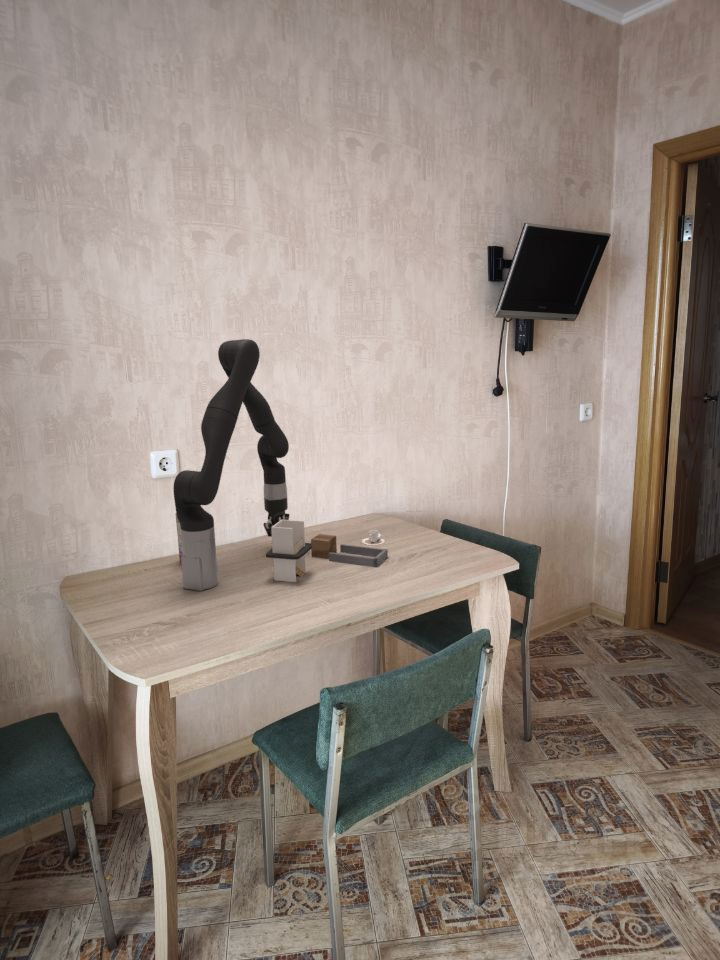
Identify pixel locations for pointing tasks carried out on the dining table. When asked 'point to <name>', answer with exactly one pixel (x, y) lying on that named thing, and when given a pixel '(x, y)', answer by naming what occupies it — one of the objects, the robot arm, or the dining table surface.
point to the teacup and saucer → (374, 537)
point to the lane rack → (359, 560)
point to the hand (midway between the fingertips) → (278, 546)
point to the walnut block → (323, 545)
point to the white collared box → (288, 550)
